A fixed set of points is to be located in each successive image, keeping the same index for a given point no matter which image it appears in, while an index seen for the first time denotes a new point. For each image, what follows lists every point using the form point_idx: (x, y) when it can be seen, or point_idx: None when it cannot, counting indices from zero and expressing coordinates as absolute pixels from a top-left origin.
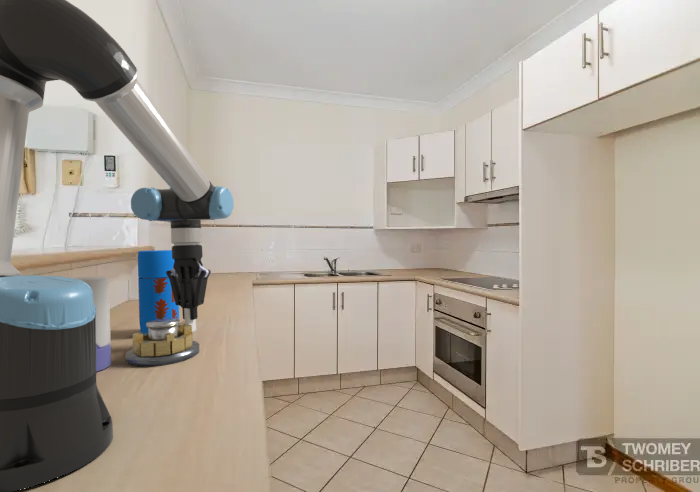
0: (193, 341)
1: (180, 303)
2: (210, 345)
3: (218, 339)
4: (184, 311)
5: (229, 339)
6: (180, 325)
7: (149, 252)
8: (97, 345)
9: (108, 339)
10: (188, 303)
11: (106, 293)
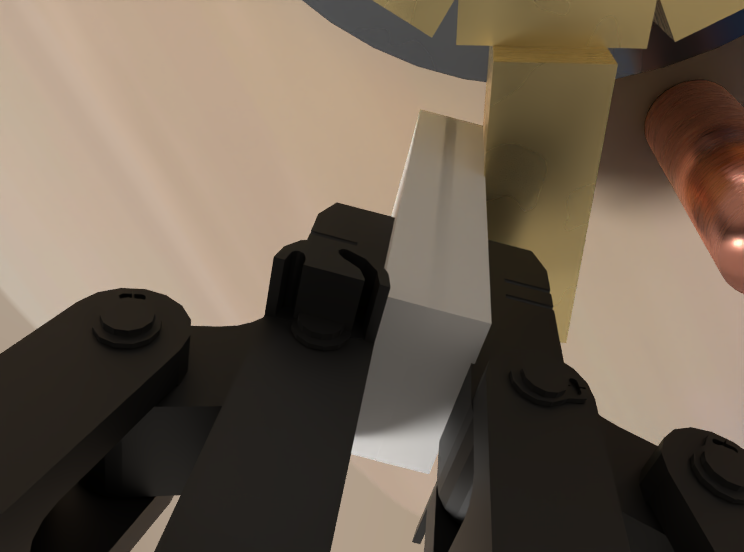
0: (338, 8)
1: (635, 481)
2: (210, 68)
3: (249, 258)
4: (485, 285)
5: (151, 253)
6: (505, 61)
7: None
8: None
9: None
10: (356, 384)
11: None
